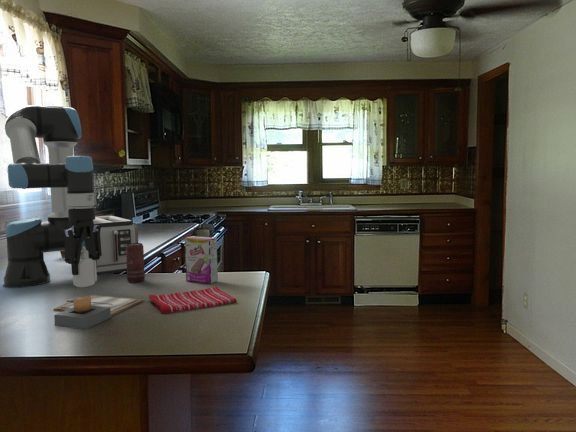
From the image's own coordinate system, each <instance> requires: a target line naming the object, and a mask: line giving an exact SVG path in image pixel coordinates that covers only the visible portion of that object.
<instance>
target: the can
mask: <svg viewBox="0 0 576 432" xmlns="http://www.w3.org/2000/svg"><path fill="white" fill-rule="evenodd" d="M126 261H127V271H126V279H127V281H128V283H131V284H133V283H134V284H136V283H142V282H144V281H145V279H146V278H145V257H144V245H143V243H141V242H138V243H130V244H127V246H126Z"/></svg>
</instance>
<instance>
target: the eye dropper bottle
mask: <svg viewBox="0 0 576 432" xmlns="http://www.w3.org/2000/svg"><path fill="white" fill-rule="evenodd" d="M88 257H89V256H88V251H87V250H86V249H85V247H82V250H81V255H80V262H79V264H82V281H83V285H82V286H77V285H76V287H77V288H86V287H90V286H92V285H95V283H96V281H95V278H94V262H93V260H92V259H90V258H88Z"/></svg>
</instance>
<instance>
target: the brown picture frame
mask: <svg viewBox="0 0 576 432" xmlns="http://www.w3.org/2000/svg"><path fill="white" fill-rule="evenodd" d="M88 296H90V297H91V305H92V306H102V307H110V311H111V317H112V316H114V315H116V314H119V313H121V312H123V311H125V310H128V309H130V308H132V307H134V306H136V305H139V304H141V303H144V302H145V300H144V299H142V298H130V297H120V296H110V295H109V296H107V295H97V294H90V295H88ZM73 299H74V298H70V299H69V298H68V299H67V300H66V302H67V303H64V304H62V305H58V306H56V307H54V308H53V311H54V312H55V311H56V312H62V311H65V310H68V309H70V308H73V307H74V300H73Z"/></svg>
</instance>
